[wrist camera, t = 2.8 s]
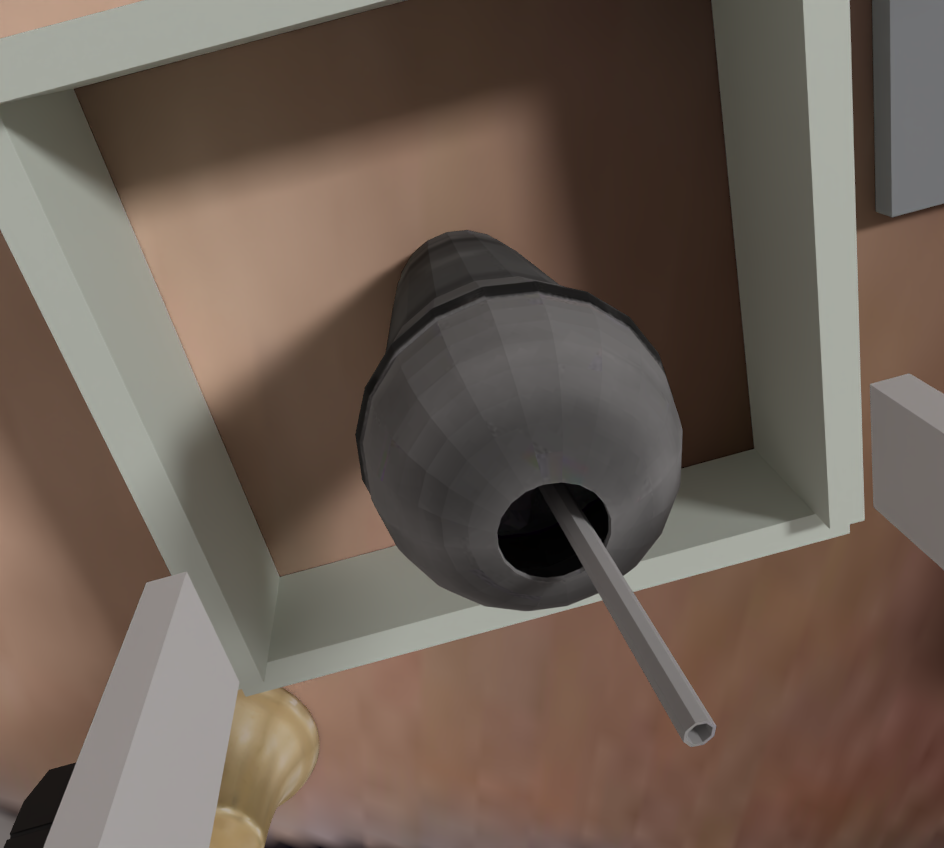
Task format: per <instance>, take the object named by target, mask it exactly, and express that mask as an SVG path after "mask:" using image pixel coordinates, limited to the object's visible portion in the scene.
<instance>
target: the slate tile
mask: <svg viewBox="0 0 944 848" xmlns="http://www.w3.org/2000/svg"><path fill="white" fill-rule="evenodd" d="M872 24H873V80H874V136H875V192H876V212H878V213H881V214H884V215H887V216H890V217H895V216H899V215H902V214H906V213H910V212H914V211H917V210H921V209H925V208H929V207H932V206H936V205H940V204H943V203H944V0H872Z"/></svg>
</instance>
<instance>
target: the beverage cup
mask: <svg viewBox="0 0 944 848" xmlns="http://www.w3.org/2000/svg"><path fill="white" fill-rule="evenodd" d="M682 432H683V430H682V426H681V422H680V419H679V416H678V412H677V409H676V406H675V403H674V400H673V396H672V393H671V390H670V387H669V383H668V380H667V377H666V374H665V371H664V368H663V365H662V362H661V359H660V356H659V353H658V352H657V351H656V350H655V348H654V347H653V346H652V345H651V343H650V342H649V341H648V340H647V338H646V337H645V336H644V335H643V333H642V332H641V331H640V330H639V328H638V327H637V326H636V325H635V323H634V322H633V321H632V320H631V318H630V317H628V316H627V315H625V314H623V313H622V312H620V311H618V310H617V309H615V308H613V307H612V306H610V305H608V304H607V303H605V302H603V301H602V300H600V299H598V298H597V297H595V296H593V295H592V294H590V293H588V292H586V291H581V290H576V289H572V288H567V287H564V286H561V285H559V284H557V283H556V282H555V281H554V280H552V279H551V278H550V277H549V276H547V275H546V274H545V273H543V272H542V271H541V270H540V269H538V268H537V267H536V266H534V265H533V264H532V263H531V262H529V261H528V260H527V259H525V258H524V257H523V256H522V255H520V254H519V253H518V252H517V251H515V250H513V249H512V248H510V247H508V246H507V245H505V244H503V243H502V242H500V241H498V240H497V239H494V238H492V237H491V236H489V235H487V234H483V233H478V232H474V231H469V230H464V231H454V232H446V233H444V234H442V235H439V236H437V237H435V238H433V239H430V240H428V241H427V242H426V243H424V244H423V245H422V246H421V247H420V248H419V249H418V250H417V251H415V252H414V253H413V254H412V256H411V257H410V259H409V261H408V262H407V264H406V266H405V268H404V269H403V271H402V274H401V278H400V280H399V282H398V286H397V290H396V295H395V300H394V305H393V311H392V317H391V323H390V329H389V335H388V341H387V347H386V353H385V355H384V357H383V358H382V360H381V362H380V363H379V365H378V367H377V368H376V370H375V372H374V373H373V375H372V377H371V378H370V380H369V382H368V384H367V385H366V387H365V390H364V395H363V400H362V405H361V410H360V415H359V420H358V424H357V429H356V434H355V435H356V442H357V448H358V455H359V462H360V468H361V475H362V480H363V482H364V484H365V486H366V487H367V489H368V491H369V493H370V495H371V499H372V501H373V503H374V505H375V507H376V509H377V511H378V513H379V515H380V517H381V518H382V520H383V522H384V524H385V526H386V528H387V529H388V531H389V533H390V535H391V537H392V538H393V540H394V542H395V544H396V546H397V547H398V549H399V550H400V551H401V552H402V553H403V554H404V555H405V556H406V557H407V558H408V559H409V560H410V561H411V562H412V563H413V564H414V565H416V566H417V567H418V568H419V569H420V570H421V571H422V572H424V573H425V574H426V575H427V576H428V577H429V578H430V579H431V580H433V581H434V582H435V583H436V584H437V585H438V586H440V587H442V588H444V589H446V590H448V591H450V592H453V593H455V594H457V595H460V596H462V597H464V598H467V599H469V600H471V601H474V602H476V603H478V604H481V605H483V606H486V607H494V608H502V609H510V610H518V611H535V610H542V609H549V608H557V607H564V606H569V605H571V604H573V603H576V602H578V601H581V600H583V599H586V598H588V597H591V596H593V595H596V594H598V593H599V595H600V597H601V598H602V600H603V602H604V604H605V605H606V607H607V609H608V611H609V612H610V614H611V616H612V618H613V619H614V621H615V623H616V625H617V626H618V628H619V630H620V632H621V633H622V635H623V637H624V639H625V640H626V642H627V644H628V646H629V647H630V649H631V651H632V653H633V654H634V656H635V658H636V660H637V661H638V663H639V665H640V667H641V668H642V670H643V672H644V674H645V675H646V677H647V679H648V681H649V682H650V684H651V686H652V688H653V689H654V691H655V693H656V695H657V696H658V698H659V700H660V702H661V703H662V705H663V707H664V709H665V711H666V712H667V714H668V716H669V718H670V719H671V721H672V723H673V725H674V726H675V728H676V730H677V732H678V733H679V735H680V737H681V739H682V740H683V742H684V743H686V744H687V745H689V746H690V747H693V746H699V745H704V744H705V743H706V742H707V741H709V740H710V739H711V738H712V737H713V736H714V734H715V729H716V725H715V723H714V722H713V720H712V718H711V717H710V715H709V714H708V712H707V710H706V709H705V707H704V705H703V704H702V702H701V701H700V699H699V697H698V696H697V694H696V693H695V691H694V689H693V688H692V686H691V685H690V683H689V681H688V680H687V678H686V677H685V675H684V673H683V672H682V670H681V668H680V667H679V665H678V664H677V662H676V660H675V659H674V657H673V656H672V654H671V652H670V651H669V649H668V648H667V646H666V644H665V643H664V641H663V640H662V638H661V636H660V635H659V633H658V631H657V630H656V628H655V627H654V625H653V623H652V622H651V620H650V619H649V617H648V615H647V614H646V612H645V611H644V609H643V607H642V606H641V604H640V603H639V601H638V599H637V598H636V596H635V594H634V593H633V591H632V590H631V588H630V586H629V585H628V583H627V582H626V580H625V578H624V577H623V576H624V575H625V574H627V573H628V572H629V571H631V570H632V569H633V568H635V567H636V566H637V565H638V563H639V562H640V561H641V560H642V558H643V557H644V556H645V555H646V553H647V552H648V551H649V549H650V548H651V547H652V546H653V544H654V543H655V542H656V540H657V539H658V538H659V537H660V535H661V534H662V532H663V529H664V527H665V524H666V522H667V519H668V516H669V514H670V511H671V509H672V506H673V503H674V501H675V498H676V496H677V493H678V490H679V488H680V484H681V458H682Z"/></svg>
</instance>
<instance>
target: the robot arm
mask: <svg viewBox="0 0 944 848" xmlns="http://www.w3.org/2000/svg"><path fill="white" fill-rule="evenodd" d="M870 404H871V438H872V471H873V505H874V508H875V509H876V510H877V511H879V512H880V513H881V514H882V515H883V516H884V517H885V518H886V519H887V520H889V521H890V522H891V523H892V524H893V525H894V526H895V527H896V528H897V529H899V530H900V531H901V532H902V533H903V534H904V535H905V536H906V537H907V538H909V539H910V540H911V541H912V542H913V543H914V544H915V545H916V546H917V547H919V548H920V549H921V550H922V551H923V552H924V553H925V554H926V555H927V556H929V557H930V558H931V559H932V560H933V561H934V562H935V563H936V564H938V565H939V566H940V567H941V568H942V569H943V570H944V394H943V393H941V392H939V391H938V390H936V389H934V388H933V387H931V386H929V385H928V384H926V383H924V382H923V381H921V380H919V379H918V378H916V377H914V376H913V375H911V374H905V375H902V376H898V377H895V378H891V379H887V380H884V381H880V382H876V383H873V384H870ZM238 687H239V680H238V678H237V676H236V674H235V672H234V670H233V667H232V665H231V663H230V661H229V659H228V657H227V655H226V653H225V651H224V649H223V646H222V644H221V642H220V640H219V638H218V636H217V634H216V632H215V630H214V628H213V625H212V623H211V621H210V619H209V617H208V615H207V613H206V611H205V609H204V607H203V605H202V602H201V600H200V598H199V596H198V594H197V592H196V590H195V588H194V586H193V584H192V581H191V579H190V577H189V575H188V573H187V572H183V573H179V574H176V575H172V576H168V577H165V578H161V579H157V580H154V581H150V582H146V585H145V587H144V590H143V593H142V595H141V598H140V600H139V603H138V605H137V608H136V611H135V613H134V616H133V618H132V621H131V623H130V626H129V629H128V631H127V634H126V636H125V639H124V641H123V644H122V647H121V649H120V652H119V654H118V657H117V659H116V662H115V665H114V667H113V670H112V672H111V675H110V677H109V680H108V683H107V685H106V688H105V690H104V693H103V695H102V698H101V701H100V703H99V706H98V708H97V711H96V713H95V716H94V719H93V721H92V724H91V726H90V729H89V731H88V734H87V737H86V739H85V742H84V744H83V747H82V749H81V752H80V755H79V757H78V760H77V762H76V763H73V764H69V765H65V766H62V767H58V768H54V769H51V770H49V771H48V772H47V773H46V775H45V776H44V777H43V778H42V780H41V781H40V782H39V783H38V785H37V786H36V787H35V788H34V790H33V791H32V792H31V793H30V795H29V796H28V797H27V798H26V800H25V801H24V802H23V805H22V807H21V809H20V812H19V814H18V816H17V818H16V821H15V823H14V825H13V828H12V830H11V832H10V835H11V838H10V839H9V840H7V841H6V844H5V846H4V848H209V846H210V840H211V835H212V830H213V824H214V819H215V813H216V808H217V802H218V797H219V791H220V786H221V780H222V775H223V769H224V764H225V758H226V753H227V748H228V742H229V737H230V731H231V726H232V720H233V715H234V709H235V704H236V698H237V693H238Z"/></svg>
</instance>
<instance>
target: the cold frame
mask: <svg viewBox="0 0 944 848" xmlns="http://www.w3.org/2000/svg"><path fill="white" fill-rule="evenodd" d="M402 1H406V0H144V1H140V2H136V3H133V4H129V5H125V6H121V7H118V8H114V9H110V10H106V11H102V12H99V13H95V14H91V15H87V16H84V17H80V18H76V19H72V20H69V21H65V22H61V23H57V24H53V25H50V26H46V27H42V28H38V29H35V30H31V31H27V32H23V33H20V34H16V35H12V36H8V37H5V38H1V39H0V230H1V232H2V234H3V236H4V238H5V240H6V242H7V244H8V246H9V248H10V250H11V252H12V254H13V256H14V258H15V260H16V262H17V264H18V266H19V268H20V270H21V272H22V274H23V276H24V278H25V280H26V282H27V284H28V286H29V289H30V291H31V293H32V295H33V297H34V299H35V301H36V303H37V305H38V307H39V309H40V311H41V313H42V315H43V317H44V319H45V321H46V323H47V325H48V327H49V329H50V331H51V333H52V335H53V337H54V339H55V341H56V343H57V345H58V347H59V349H60V351H61V353H62V355H63V357H64V359H65V361H66V363H67V365H68V367H69V369H70V371H71V373H72V375H73V377H74V379H75V381H76V383H77V386H78V388H79V390H80V392H81V394H82V396H83V398H84V400H85V402H86V404H87V406H88V408H89V410H90V412H91V414H92V416H93V418H94V420H95V422H96V424H97V426H98V428H99V430H100V432H101V434H102V436H103V438H104V440H105V442H106V444H107V446H108V448H109V450H110V452H111V454H112V456H113V458H114V460H115V462H116V464H117V466H118V468H119V470H120V472H121V474H122V476H123V478H124V481H125V483H126V485H127V487H128V489H129V491H130V493H131V495H132V497H133V499H134V501H135V503H136V505H137V507H138V509H139V511H140V513H141V515H142V517H143V519H144V521H145V523H146V525H147V527H148V529H149V531H150V533H151V535H152V537H153V539H154V541H155V543H156V545H157V547H158V549H159V551H160V553H161V555H162V557H163V559H164V561H165V563H166V565H167V567H168V569H169V571H170V573H171V575H176V574H179V573H183V572H187V573H188V575H189V577H190V579H191V581H192V584H193V586H194V588H195V590H196V592H197V594H198V596H199V598H200V600H201V602H202V605H203V607H204V609H205V611H206V613H207V615H208V617H209V619H210V621H211V623H212V625H213V628H214V630H215V632H216V634H217V636H218V638H219V640H220V642H221V644H222V646H223V649H224V651H225V653H226V655H227V657H228V659H229V661H230V663H231V665H232V667H233V670H234V672H235V674H236V676H237V678H238V680H239V687H238V690H240V689H242V690H243V692H244V695H245V697H247V696H251V695H254V694H258V693H262V692H266V691H269V690H273V689H277V688H280V687H284V686H288V685H291V684H295V683H299V682H302V681H306V680H310V679H314V678H317V677H321V676H325V675H328V674H332V673H336V672H339V671H343V670H347V669H350V668H354V667H358V666H361V665H365V664H369V663H373V662H376V661H380V660H384V659H387V658H391V657H395V656H398V655H402V654H406V653H409V652H413V651H417V650H421V649H424V648H428V647H432V646H435V645H439V644H443V643H446V642H450V641H454V640H457V639H461V638H465V637H468V636H472V635H476V634H480V633H483V632H487V631H491V630H494V629H498V628H502V627H505V626H509V625H513V624H516V623H520V622H524V621H528V620H531V619H535V618H539V617H542V616H546V615H550V614H553V613H557V612H561V611H564V610H568V609H572V608H576V607H579V606H583V605H587V604H590V603H594V602H598V601H601V600H602V598H601V597H600V595H599V593H598V594H596V595H593V596H591V597H588V598H586V599H583V600H581V601H578V602H576V603H573V604H571V605H569V606H564V607H557V608H549V609H542V610H535V611H518V610H510V609H502V608H494V607H486V606H483V605H481V604H478V603H476V602H474V601H471V600H469V599H467V598H464V597H462V596H460V595H457V594H455V593H453V592H450V591H448V590H446V589H444V588H442V587H440V586H438V585H437V584H436V583H435V582H434V581H433V580H431V579H430V578H429V577H428V576H427V575H426V574H425V573H424V572H422V571H421V570H420V569H419V568H418V567H417V566H416V565H414V564H413V563H412V562H411V561H410V560H409V559H408V558H407V557H406V556H405V555H404V554H403V553H402V552H401V551H400V550H399V549H398V547H397V546H393V547H389V548H385V549H382V550H378V551H374V552H371V553H367V554H363V555H359V556H356V557H352V558H348V559H345V560H341V561H337V562H334V563H330V564H326V565H322V566H319V567H315V568H311V569H308V570H304V571H300V572H297V573H293V574H289V575H285V576H282V577H280V576H279V574H278V572H277V569H276V567H275V565H274V562H273V560H272V557H271V555H270V553H269V550H268V548H267V546H266V543H265V541H264V539H263V536H262V534H261V531H260V529H259V527H258V524H257V522H256V520H255V517H254V515H253V513H252V510H251V508H250V505H249V503H248V501H247V498H246V496H245V494H244V491H243V489H242V486H241V484H240V482H239V479H238V477H237V475H236V472H235V470H234V468H233V465H232V463H231V460H230V458H229V456H228V453H227V451H226V449H225V446H224V444H223V442H222V439H221V437H220V434H219V432H218V430H217V427H216V425H215V423H214V420H213V418H212V415H211V413H210V411H209V408H208V406H207V404H206V401H205V399H204V397H203V394H202V392H201V389H200V387H199V385H198V382H197V380H196V378H195V375H194V373H193V371H192V368H191V366H190V363H189V361H188V359H187V356H186V354H185V352H184V349H183V347H182V344H181V342H180V340H179V337H178V335H177V333H176V330H175V328H174V326H173V323H172V321H171V318H170V316H169V314H168V311H167V309H166V307H165V304H164V302H163V300H162V297H161V295H160V292H159V290H158V288H157V285H156V283H155V281H154V278H153V276H152V273H151V271H150V269H149V266H148V264H147V262H146V259H145V257H144V255H143V252H142V250H141V247H140V245H139V243H138V240H137V238H136V236H135V233H134V231H133V229H132V226H131V224H130V221H129V219H128V217H127V214H126V212H125V210H124V207H123V205H122V203H121V200H120V198H119V195H118V193H117V191H116V188H115V186H114V184H113V181H112V179H111V176H110V174H109V172H108V169H107V167H106V165H105V162H104V160H103V158H102V155H101V153H100V150H99V148H98V146H97V143H96V141H95V139H94V136H93V134H92V132H91V129H90V127H89V124H88V122H87V120H86V117H85V115H84V113H83V110H82V108H81V105H80V103H79V101H78V98H77V96H76V94H75V91H74V89H75V88H79V87H83V86H87V85H90V84H94V83H98V82H102V81H105V80H109V79H113V78H117V77H120V76H124V75H128V74H132V73H135V72H139V71H143V70H147V69H150V68H154V67H158V66H162V65H165V64H169V63H173V62H177V61H181V60H184V59H188V58H192V57H196V56H199V55H203V54H207V53H211V52H214V51H218V50H222V49H226V48H229V47H233V46H237V45H241V44H244V43H248V42H252V41H256V40H259V39H263V38H267V37H271V36H275V35H278V34H282V33H286V32H290V31H293V30H297V29H301V28H305V27H308V26H312V25H316V24H320V23H323V22H327V21H331V20H335V19H338V18H342V17H346V16H350V15H353V14H357V13H361V12H365V11H368V10H372V9H376V8H380V7H384V6H387V5H391V4H395V3H399V2H402ZM711 3H712V13H713V24H714V34H715V45H716V55H717V65H718V76H719V86H720V97H721V107H722V118H723V128H724V139H725V149H726V160H727V170H728V180H729V191H730V201H731V212H732V222H733V233H734V243H735V254H736V264H737V274H738V285H739V295H740V306H741V316H742V327H743V337H744V348H745V358H746V369H747V379H748V389H749V400H750V410H751V421H752V431H753V442H754V449H752V450H748V451H744V452H741V453H737V454H733V455H730V456H726V457H722V458H718V459H715V460H711V461H707V462H704V463H700V464H696V465H693V466H689V467H685V468H681V484H680V488H679V490H678V493H677V496H676V498H675V501H674V503H673V506H672V509H671V511H670V514H669V516H668V519H667V522H666V524H665V527H664V529H663V532H662V534H661V535H660V537H659V538H658V539H657V540H656V542H655V543H654V544H653V546H652V547H651V548H650V549H649V551H648V552H647V553H646V555H645V556H644V557H643V558H642V560H641V561H640V562H639V563H638V565H637V566H636V567H635V568H633V569H632V570H631V571H629V572H628V573H627V574H625V575H624V576H623V577H624V578H625V580H626V582H627V583H628V585H629V586H630V588H631V590H632V591H633V592H635V591H638V590H642V589H646V588H649V587H653V586H657V585H660V584H664V583H668V582H671V581H675V580H679V579H683V578H686V577H690V576H694V575H697V574H701V573H705V572H708V571H712V570H716V569H719V568H723V567H727V566H730V565H734V564H738V563H742V562H745V561H749V560H753V559H756V558H760V557H764V556H767V555H771V554H775V553H778V552H782V551H786V550H790V549H793V548H797V547H801V546H804V545H808V544H812V543H815V542H819V541H823V540H826V539H830V538H834V537H837V536H841V535H845V534H849V533H850V524H853V523H856V522H860V521H864V520H865V518H864V483H863V448H862V413H861V378H860V344H859V309H858V274H857V239H856V204H855V169H854V135H853V100H852V65H851V30H850V0H711Z"/></svg>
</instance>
